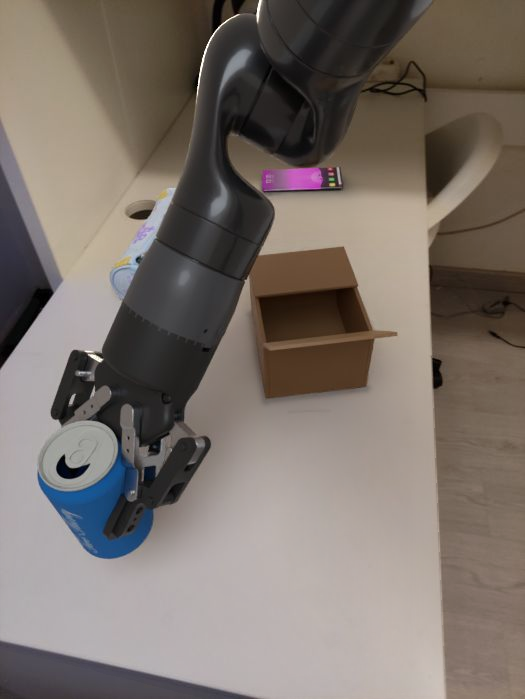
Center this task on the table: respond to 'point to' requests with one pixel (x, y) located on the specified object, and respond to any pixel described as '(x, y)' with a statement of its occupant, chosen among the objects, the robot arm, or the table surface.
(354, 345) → the carton
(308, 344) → the flap
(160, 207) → the pencil case
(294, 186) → the smartphone
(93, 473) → the beverage can
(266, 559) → the table surface
